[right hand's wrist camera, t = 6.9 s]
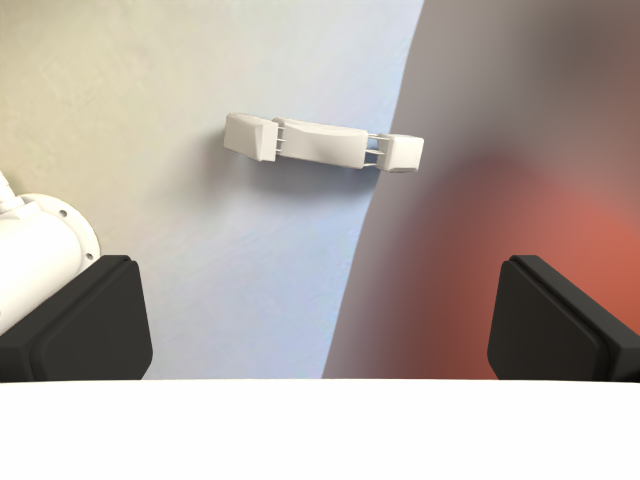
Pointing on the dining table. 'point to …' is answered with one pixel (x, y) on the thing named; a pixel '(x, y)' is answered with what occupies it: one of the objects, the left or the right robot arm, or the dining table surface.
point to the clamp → (319, 143)
